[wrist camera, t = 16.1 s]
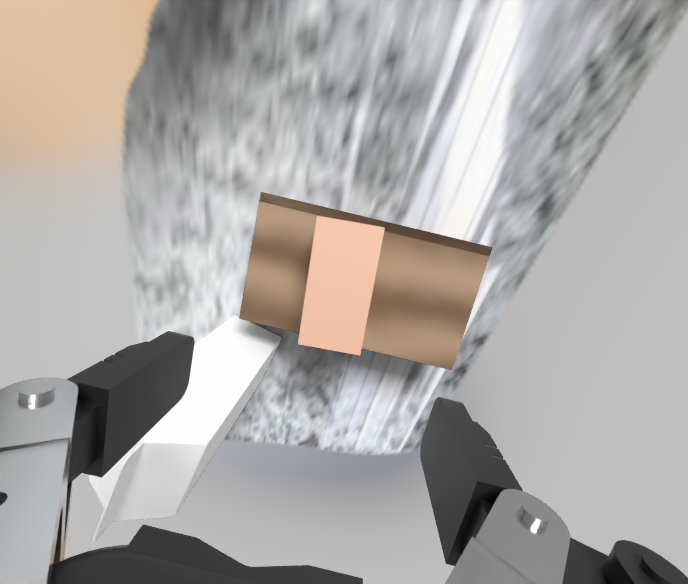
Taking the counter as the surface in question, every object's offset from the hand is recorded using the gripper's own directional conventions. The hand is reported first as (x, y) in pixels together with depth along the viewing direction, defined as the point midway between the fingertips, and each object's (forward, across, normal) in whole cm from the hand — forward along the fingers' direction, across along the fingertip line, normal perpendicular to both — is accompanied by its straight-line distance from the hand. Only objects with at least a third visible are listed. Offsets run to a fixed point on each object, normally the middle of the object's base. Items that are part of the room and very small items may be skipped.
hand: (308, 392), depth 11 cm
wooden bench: (+26, -2, 0) cm, 26 cm away
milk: (+26, +9, +11) cm, 30 cm away
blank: (+20, 0, 0) cm, 20 cm away
